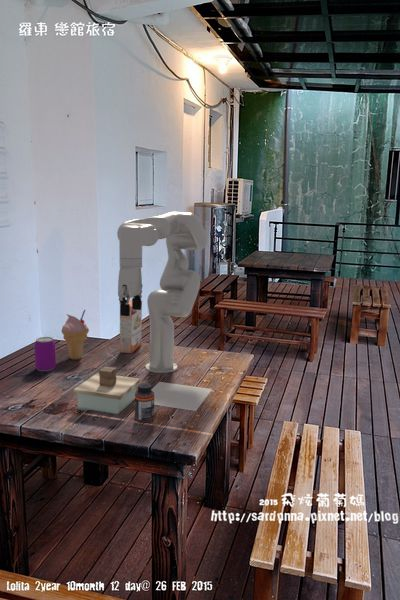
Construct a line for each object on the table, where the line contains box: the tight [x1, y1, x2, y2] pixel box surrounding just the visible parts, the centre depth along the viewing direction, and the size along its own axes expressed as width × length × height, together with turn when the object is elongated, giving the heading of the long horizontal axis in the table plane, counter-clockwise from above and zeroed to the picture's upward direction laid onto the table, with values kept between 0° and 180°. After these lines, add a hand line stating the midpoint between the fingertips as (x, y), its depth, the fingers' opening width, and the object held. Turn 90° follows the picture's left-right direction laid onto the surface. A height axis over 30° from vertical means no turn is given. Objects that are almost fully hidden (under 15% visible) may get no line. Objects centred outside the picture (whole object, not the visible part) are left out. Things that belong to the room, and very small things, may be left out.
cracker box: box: [119, 299, 143, 354], centre depth 231 cm, size 14×6×21 cm, turn 168°
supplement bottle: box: [134, 382, 155, 424], centre depth 161 cm, size 6×6×11 cm
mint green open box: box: [77, 386, 137, 415], centre depth 172 cm, size 14×14×6 cm
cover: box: [73, 366, 141, 400], centre depth 170 cm, size 16×16×6 cm
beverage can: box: [34, 336, 57, 372], centre depth 203 cm, size 8×8×12 cm
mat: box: [151, 381, 213, 412], centre depth 180 cm, size 20×20×1 cm
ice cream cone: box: [61, 309, 90, 360], centre depth 216 cm, size 11×11×20 cm
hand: (130, 312), depth 179 cm, fingers open, 9 cm apart
